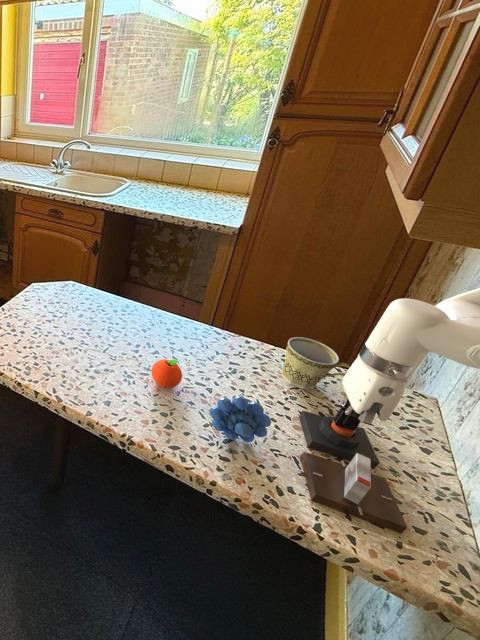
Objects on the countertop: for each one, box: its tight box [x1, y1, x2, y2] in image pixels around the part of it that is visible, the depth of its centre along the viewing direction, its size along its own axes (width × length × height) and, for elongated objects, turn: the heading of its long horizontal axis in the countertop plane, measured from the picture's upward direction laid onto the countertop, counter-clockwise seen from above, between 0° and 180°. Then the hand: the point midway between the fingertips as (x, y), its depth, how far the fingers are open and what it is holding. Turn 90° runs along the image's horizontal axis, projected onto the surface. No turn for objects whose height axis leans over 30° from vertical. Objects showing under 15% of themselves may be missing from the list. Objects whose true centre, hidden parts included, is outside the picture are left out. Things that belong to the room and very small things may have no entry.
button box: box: [298, 410, 380, 470], centre depth 86 cm, size 11×9×4 cm
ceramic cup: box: [281, 336, 351, 390], centre depth 99 cm, size 13×10×10 cm
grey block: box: [344, 453, 372, 504], centre depth 75 cm, size 8×2×5 cm, turn 138°
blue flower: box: [208, 395, 272, 443], centre depth 84 cm, size 12×7×12 cm, turn 74°
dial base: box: [299, 451, 408, 534], centre depth 76 cm, size 13×12×2 cm
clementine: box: [151, 358, 183, 389], centre depth 100 cm, size 8×7×7 cm
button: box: [330, 420, 355, 438], centre depth 85 cm, size 4×4×2 cm
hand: (343, 425), depth 84 cm, fingers closed
